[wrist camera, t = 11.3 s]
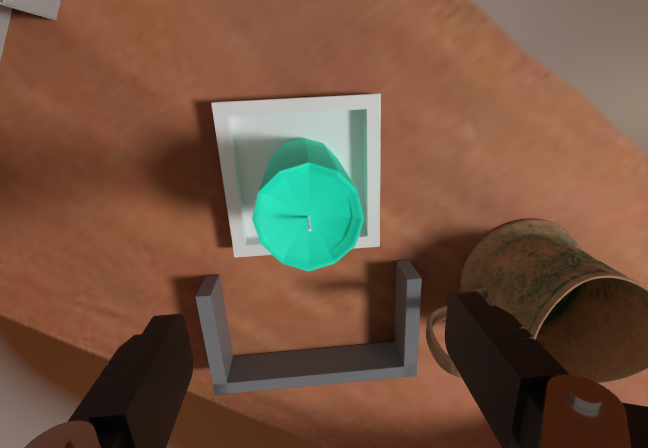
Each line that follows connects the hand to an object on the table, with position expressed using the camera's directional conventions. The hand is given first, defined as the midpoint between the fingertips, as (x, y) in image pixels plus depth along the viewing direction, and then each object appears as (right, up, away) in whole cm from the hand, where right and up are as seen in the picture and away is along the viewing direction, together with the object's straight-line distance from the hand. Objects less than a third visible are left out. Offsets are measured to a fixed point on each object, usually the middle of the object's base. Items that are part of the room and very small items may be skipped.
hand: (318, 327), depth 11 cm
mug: (+16, -2, +24) cm, 29 cm away
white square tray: (-2, +7, +19) cm, 20 cm away
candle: (-1, +7, +18) cm, 20 cm away
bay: (-1, -5, +23) cm, 24 cm away
